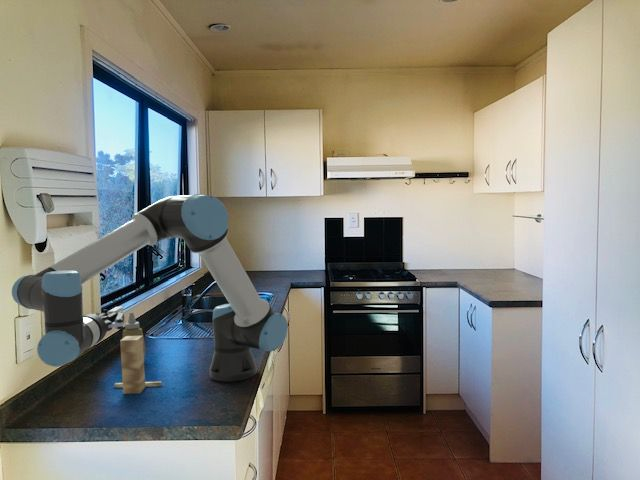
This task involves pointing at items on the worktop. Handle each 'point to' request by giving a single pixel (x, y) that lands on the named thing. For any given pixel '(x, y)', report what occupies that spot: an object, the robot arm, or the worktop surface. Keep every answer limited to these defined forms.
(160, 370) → the worktop surface
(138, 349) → the oak block
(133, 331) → the squeeze bottle
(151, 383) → the maple strip
